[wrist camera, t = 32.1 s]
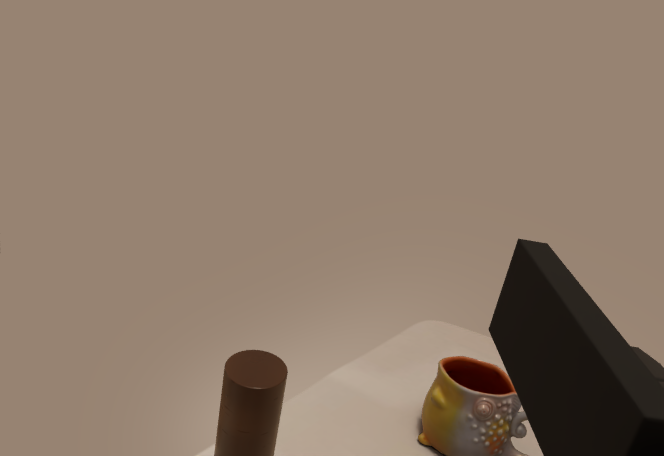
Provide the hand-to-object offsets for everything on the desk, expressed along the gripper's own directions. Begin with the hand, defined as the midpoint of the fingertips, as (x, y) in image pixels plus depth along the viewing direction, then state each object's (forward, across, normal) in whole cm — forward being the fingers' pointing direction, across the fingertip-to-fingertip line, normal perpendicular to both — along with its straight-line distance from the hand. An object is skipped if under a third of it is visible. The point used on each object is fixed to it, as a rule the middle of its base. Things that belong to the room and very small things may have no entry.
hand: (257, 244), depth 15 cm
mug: (+24, +19, -27) cm, 41 cm away
